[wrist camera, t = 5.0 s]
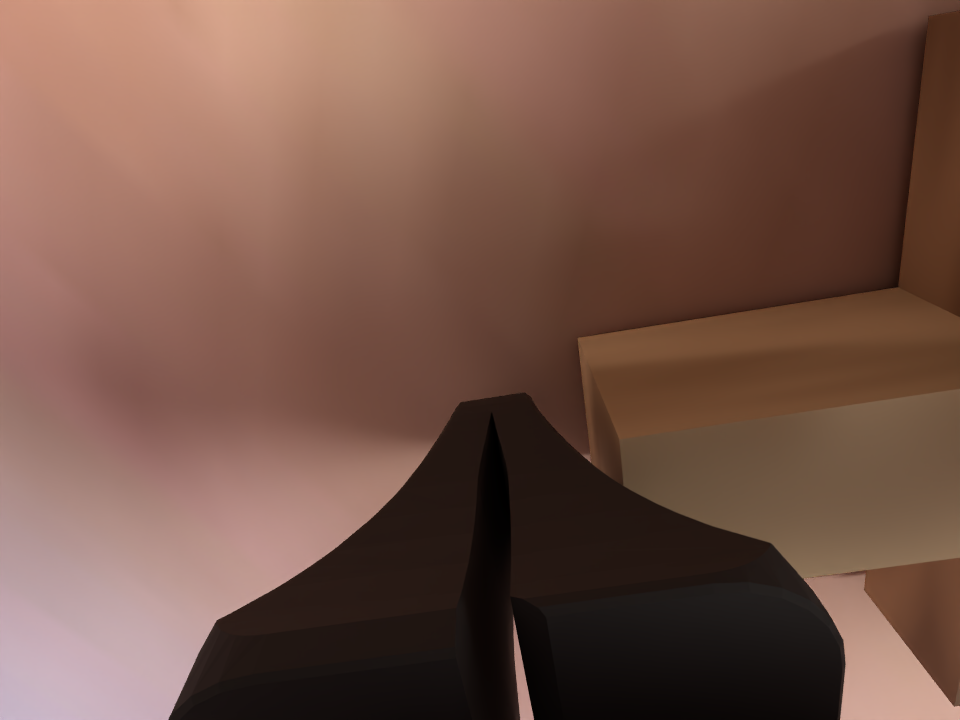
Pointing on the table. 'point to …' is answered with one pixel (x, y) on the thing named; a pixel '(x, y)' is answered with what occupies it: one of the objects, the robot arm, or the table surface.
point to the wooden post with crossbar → (820, 408)
